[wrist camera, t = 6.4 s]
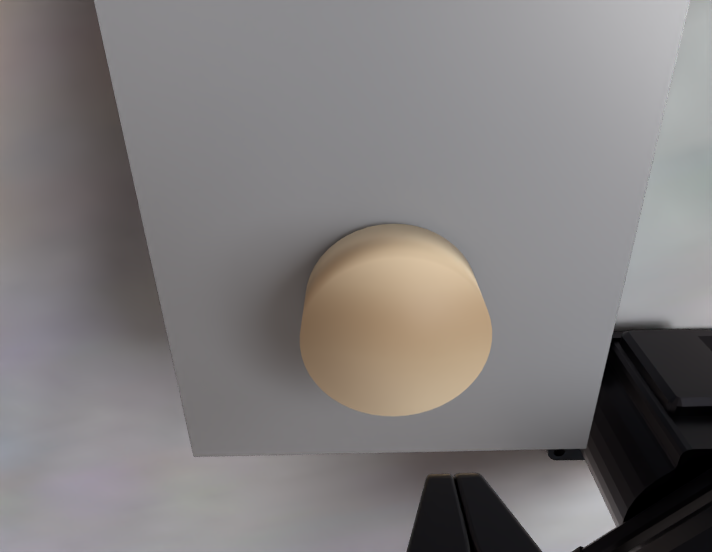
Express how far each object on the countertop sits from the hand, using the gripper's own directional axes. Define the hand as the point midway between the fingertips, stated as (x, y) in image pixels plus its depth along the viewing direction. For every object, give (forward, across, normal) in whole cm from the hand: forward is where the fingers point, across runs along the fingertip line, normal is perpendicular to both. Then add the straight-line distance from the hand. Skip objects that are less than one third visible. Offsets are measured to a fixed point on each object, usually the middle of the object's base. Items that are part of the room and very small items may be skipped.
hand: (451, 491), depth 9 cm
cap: (+11, +1, 0) cm, 11 cm away
